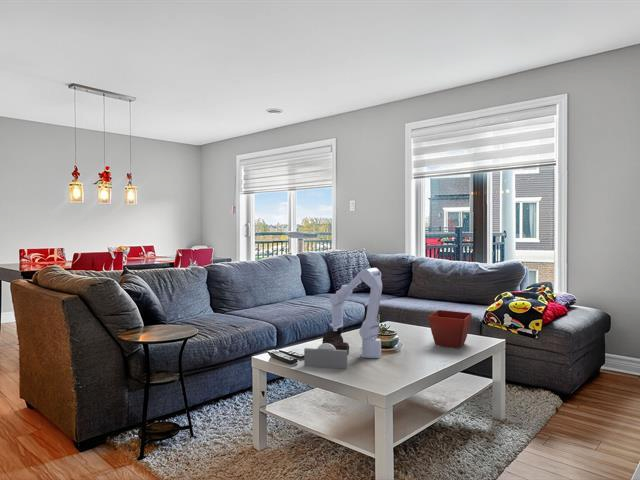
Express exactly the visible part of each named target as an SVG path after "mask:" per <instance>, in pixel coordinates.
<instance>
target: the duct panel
mask: <svg viewBox="0 0 640 480" xmlns="http://www.w3.org/2000/svg"><path fill="white" fill-rule="evenodd" d="M303 351H304V352H303V360H304V361H303V362H304V363H303V364H304V365H303V366H304V367H312V368H313V367H314V368H315V367H316V368H327V369H330V368H331V369H345V370H347V369H348V355H347V350H336V349H335V347H334V346H333V345H331V344H329V343H324V344H322V343H321V344H319V346H317V348H312V347H311V348H310V347H305V348H304V350H303Z"/></svg>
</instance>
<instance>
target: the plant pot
mask: <svg viewBox="0 0 640 480" xmlns="http://www.w3.org/2000/svg"><path fill="white" fill-rule="evenodd" d="M472 314H473V313H471V312H466V311H465V312H464V311H453V310H442V309H438V310H436V311H434V312H432V313H431V314H429V315H428V320H429V321H428V322H429V326H430V327H429V328H430V331H431V332H430V333H431V334H432V337H433V341H434V343H435V346H436V347H444V348H445V347H446V348H452V349H460V348H462V346H464V344H465V342H466V341H467V340H466V339H467V338H468V334H469V330H470V327H471V320H472Z"/></svg>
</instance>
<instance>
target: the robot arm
mask: <svg viewBox="0 0 640 480" xmlns="http://www.w3.org/2000/svg"><path fill="white" fill-rule="evenodd" d="M363 282H364V283H365V284H366V285H367V286H368V287H369V288H370V292H369V293H370V294H369V298H368V305H367V309H366V315H365V319H364V321H362V323H361V327H360V328H359V331H358V332H359V333H358V334H359V336H360V338H361V340H362V341H361V342H362V344H361V346H362V347H361V349H362V350H361V351H362V352H361V355H360V358H370V359H380V358H381V356H382V339H381V338H378V335H379V334H380V327H379V325H380V322H379V321H378V315H379V309H380V304H381V298H382V294H383V293H382V292H383V281H382V272H381V271H380V270H379V269H378V268H377V267H372V268H371V267H370V268H363V269H360V271H359V272H358V273H357V275H355V276H354V278H353V279H352V280H351V281H350V282H349V283H348V284H342V285H341V288H339V290H336V292H335V293H332V294H331V295H330V297H329V302H330V304H331V323H329V326H331V327H332V328H331V332H337V333H339V334H340V335H341V336H342V332H343V330H344V322H343V321H344V320H343V319H344V317H343V315H344V314H343V312H344V311H343V310H344V309H343V308H344V304H345V302H346V299H348V298H349V296H351V295H352V294H353V291H354V289H355V288H357V287H358V285H360V284H361V283H363Z"/></svg>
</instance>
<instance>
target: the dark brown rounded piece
mask: <svg viewBox="0 0 640 480" xmlns="http://www.w3.org/2000/svg"><path fill="white" fill-rule="evenodd" d="M321 342H322V343H321V344H324V343H329V344H331V345H333V346H334V347H335V349H336V350H347V356H348V355H349V353H350V346H349V343H348V342H345V341H344V338H343V336H342V334H341V335H340V334H339V333H337V332H332V331H329V332H326V333H325V334H324V335H323V336H322V341H321Z"/></svg>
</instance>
